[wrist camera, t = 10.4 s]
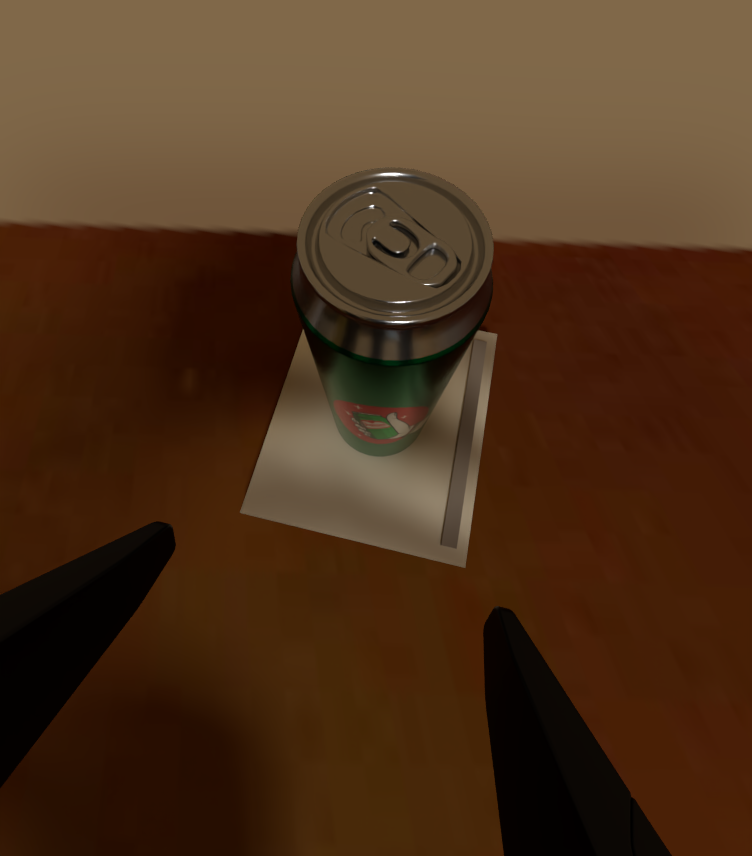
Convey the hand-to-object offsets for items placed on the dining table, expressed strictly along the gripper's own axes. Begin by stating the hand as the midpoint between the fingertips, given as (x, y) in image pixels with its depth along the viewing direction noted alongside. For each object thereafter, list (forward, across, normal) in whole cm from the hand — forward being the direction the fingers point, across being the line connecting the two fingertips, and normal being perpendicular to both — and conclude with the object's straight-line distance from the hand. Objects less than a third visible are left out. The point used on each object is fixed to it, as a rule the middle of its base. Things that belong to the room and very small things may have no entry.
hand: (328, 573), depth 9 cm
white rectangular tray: (+12, 0, +1) cm, 12 cm away
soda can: (+11, 0, 0) cm, 11 cm away
